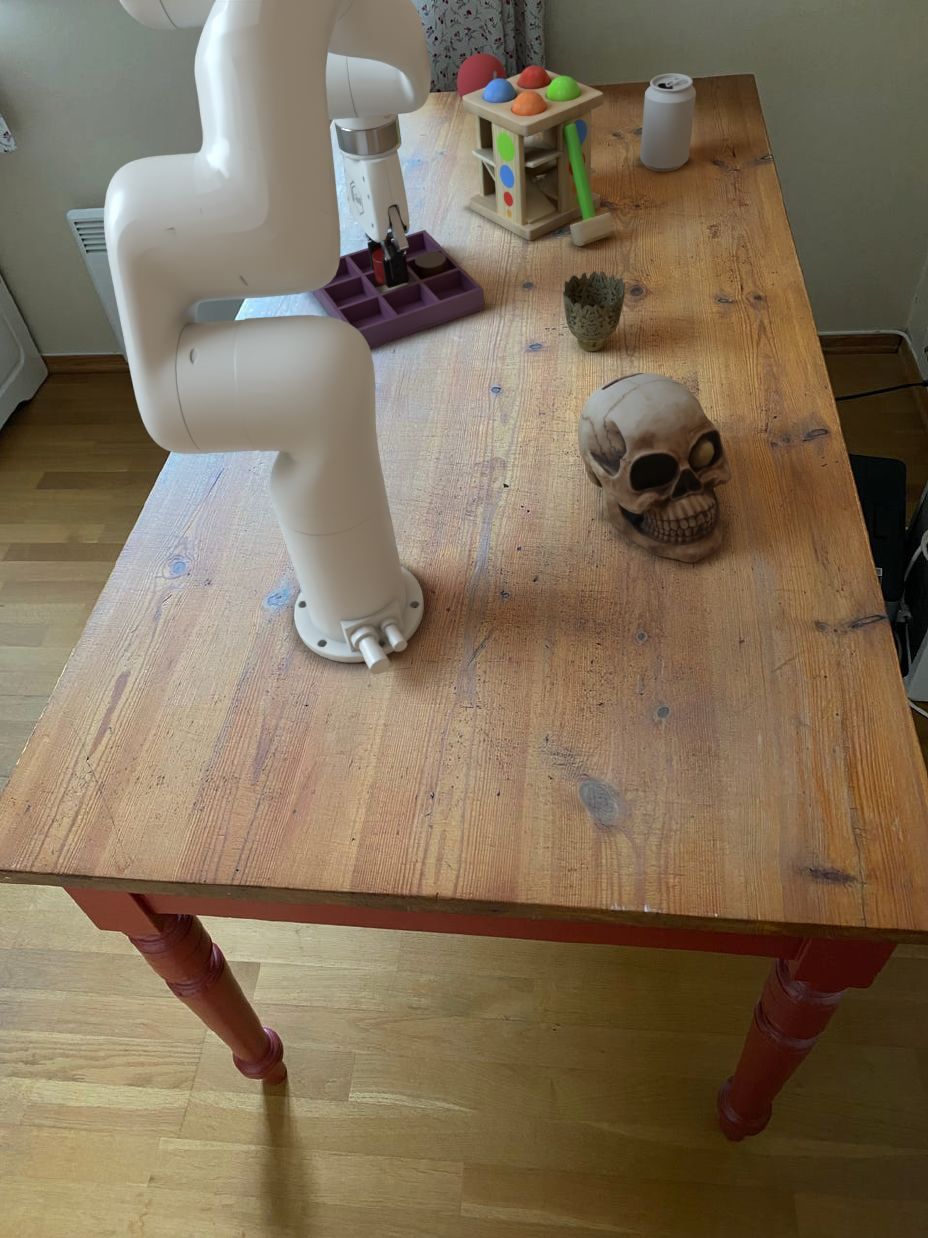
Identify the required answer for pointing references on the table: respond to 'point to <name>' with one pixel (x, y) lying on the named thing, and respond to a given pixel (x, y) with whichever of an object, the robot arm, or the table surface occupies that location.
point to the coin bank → (655, 464)
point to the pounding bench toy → (537, 155)
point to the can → (667, 122)
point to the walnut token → (430, 264)
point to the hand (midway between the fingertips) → (390, 274)
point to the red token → (378, 265)
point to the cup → (593, 308)
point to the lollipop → (478, 73)
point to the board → (399, 295)
